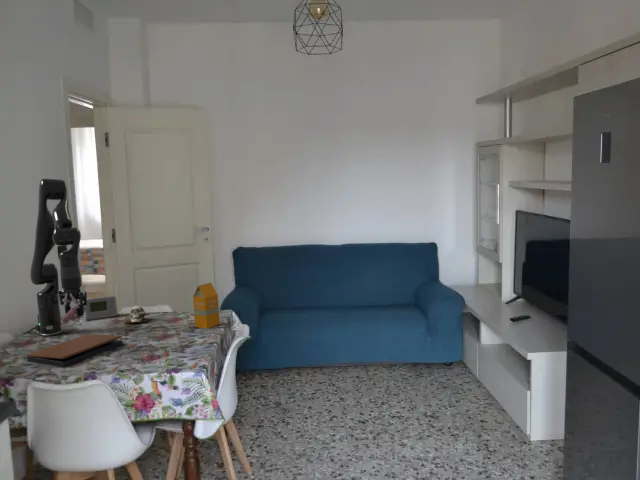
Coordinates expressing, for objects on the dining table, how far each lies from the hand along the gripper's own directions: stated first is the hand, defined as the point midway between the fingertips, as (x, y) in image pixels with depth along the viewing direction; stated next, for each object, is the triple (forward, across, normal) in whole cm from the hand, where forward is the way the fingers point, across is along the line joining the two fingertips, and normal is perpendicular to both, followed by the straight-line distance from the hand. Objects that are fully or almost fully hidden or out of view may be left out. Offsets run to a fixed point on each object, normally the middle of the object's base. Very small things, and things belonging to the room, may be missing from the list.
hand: (74, 315), depth 235 cm
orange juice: (+16, -28, -51) cm, 60 cm away
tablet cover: (+13, 0, +1) cm, 13 cm away
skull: (+16, +12, -46) cm, 50 cm away
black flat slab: (+15, 0, +1) cm, 16 cm away
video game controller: (+2, 0, 0) cm, 2 cm away
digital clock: (+16, +37, -46) cm, 61 cm away
